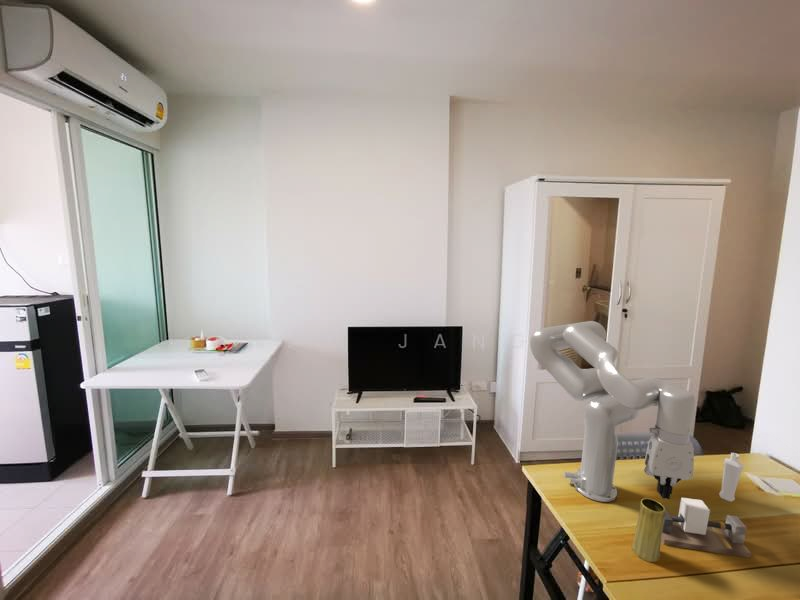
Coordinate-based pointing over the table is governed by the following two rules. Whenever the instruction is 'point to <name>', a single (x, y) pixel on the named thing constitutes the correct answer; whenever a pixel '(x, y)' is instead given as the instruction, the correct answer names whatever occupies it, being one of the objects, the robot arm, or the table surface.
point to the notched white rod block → (694, 515)
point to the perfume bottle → (730, 477)
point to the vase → (649, 530)
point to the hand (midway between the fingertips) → (663, 495)
